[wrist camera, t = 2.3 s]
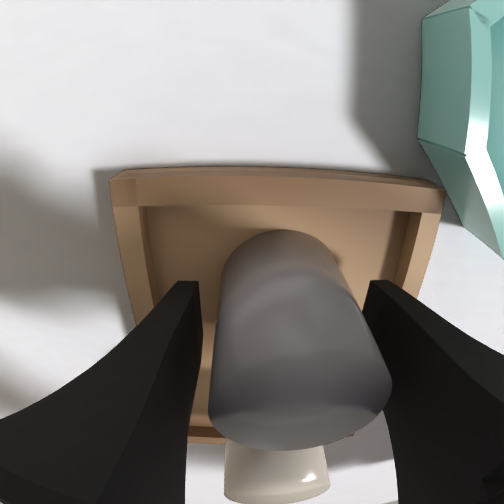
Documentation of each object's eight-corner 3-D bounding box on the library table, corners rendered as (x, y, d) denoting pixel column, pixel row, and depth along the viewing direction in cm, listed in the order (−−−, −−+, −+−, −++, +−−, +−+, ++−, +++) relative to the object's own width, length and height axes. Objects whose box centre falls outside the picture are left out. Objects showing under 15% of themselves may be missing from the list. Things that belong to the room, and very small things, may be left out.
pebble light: (305, 416, 14) (318, 500, 10) (227, 418, 14) (226, 505, 10) (318, 368, 12) (342, 471, 8) (224, 370, 12) (220, 479, 8)
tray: (348, 419, 16) (352, 435, 15) (177, 424, 15) (174, 440, 14) (427, 179, 9) (446, 190, 8) (123, 170, 9) (108, 180, 8)
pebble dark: (328, 327, 11) (362, 441, 7) (222, 329, 11) (214, 451, 7) (347, 230, 9) (418, 341, 5) (218, 228, 9) (198, 351, 5)
